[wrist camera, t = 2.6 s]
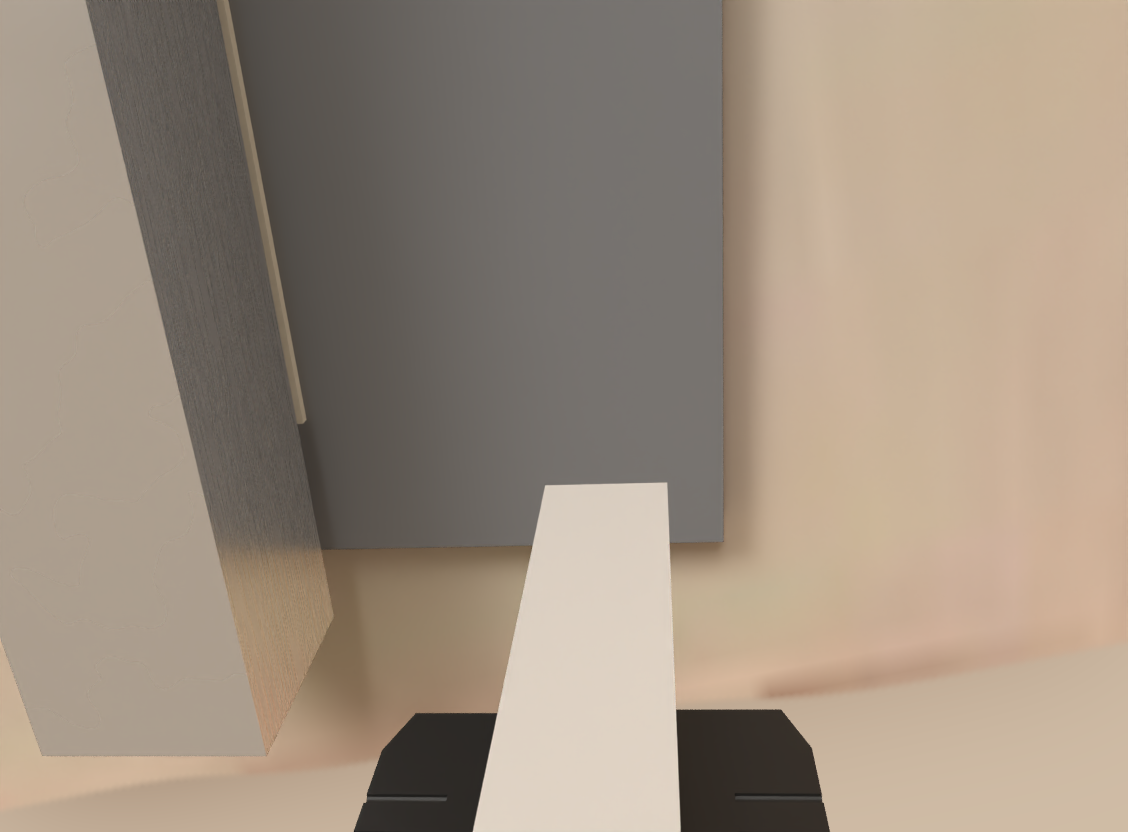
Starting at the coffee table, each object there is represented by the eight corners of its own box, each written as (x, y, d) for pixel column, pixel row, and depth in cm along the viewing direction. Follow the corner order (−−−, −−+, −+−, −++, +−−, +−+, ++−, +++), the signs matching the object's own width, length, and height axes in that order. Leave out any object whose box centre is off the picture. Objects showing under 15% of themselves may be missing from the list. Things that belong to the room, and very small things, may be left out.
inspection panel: (-626, -614, 15) (-737, -665, 14) (715, -809, 13) (721, -888, 12) (-154, 536, 23) (-198, 567, 22) (719, 517, 21) (724, 550, 20)
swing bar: (-215, -757, 13) (-852, -1300, 7) (78, -802, 12) (-363, -1411, 7) (158, 605, 21) (-11, 823, 16) (340, 603, 21) (232, 825, 15)
